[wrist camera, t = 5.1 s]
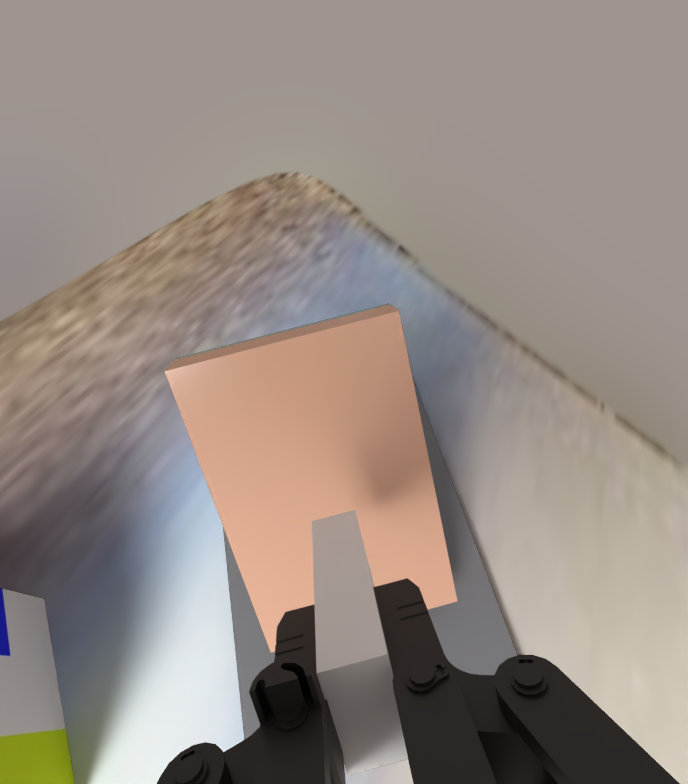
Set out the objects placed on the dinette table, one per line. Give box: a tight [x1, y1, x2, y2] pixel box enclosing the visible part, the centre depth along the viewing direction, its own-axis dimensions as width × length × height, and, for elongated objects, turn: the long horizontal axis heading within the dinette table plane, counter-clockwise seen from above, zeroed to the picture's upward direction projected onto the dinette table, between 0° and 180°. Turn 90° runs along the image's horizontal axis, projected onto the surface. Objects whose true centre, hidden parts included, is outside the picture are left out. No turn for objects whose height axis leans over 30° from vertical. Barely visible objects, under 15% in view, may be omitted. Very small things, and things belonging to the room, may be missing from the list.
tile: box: [165, 304, 457, 652], centre depth 21 cm, size 2×9×14 cm
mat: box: [223, 377, 517, 740], centre depth 27 cm, size 20×13×1 cm, turn 13°
